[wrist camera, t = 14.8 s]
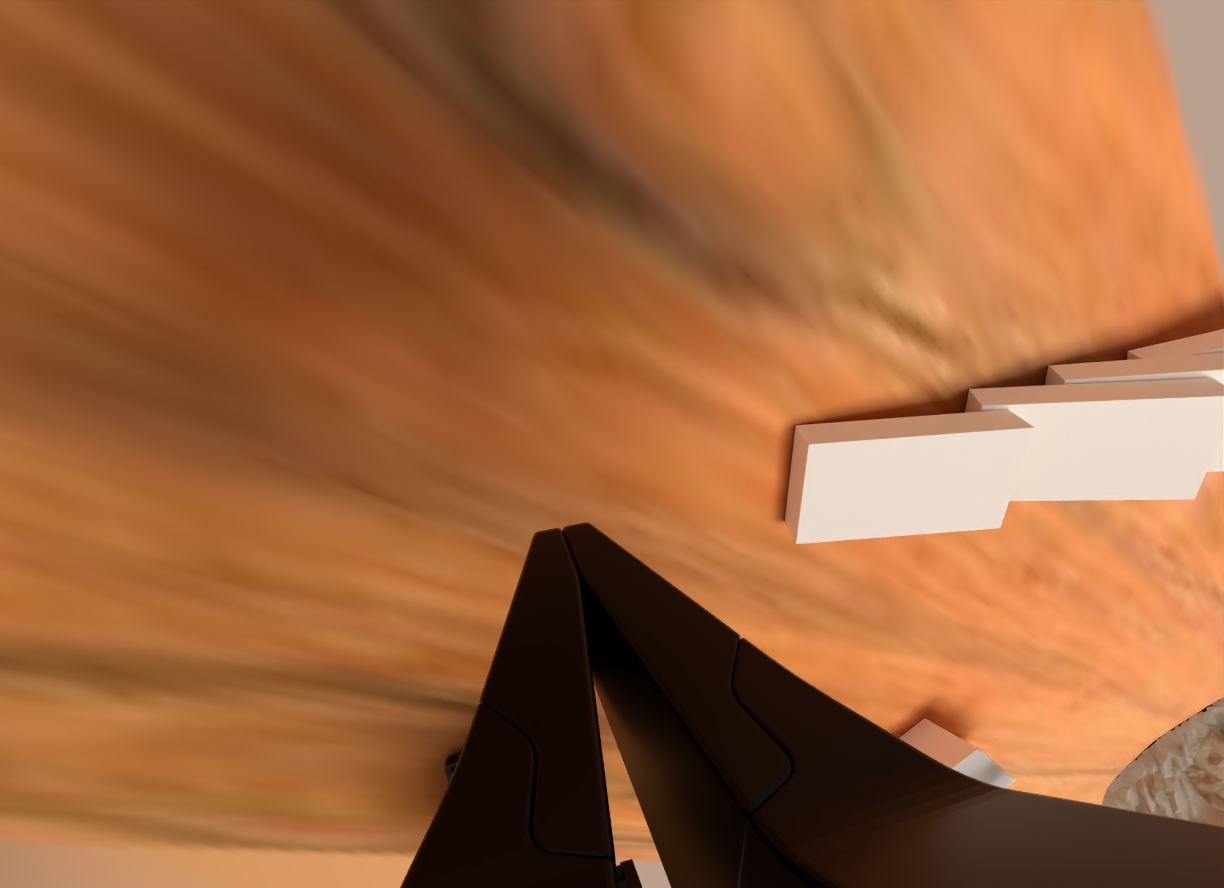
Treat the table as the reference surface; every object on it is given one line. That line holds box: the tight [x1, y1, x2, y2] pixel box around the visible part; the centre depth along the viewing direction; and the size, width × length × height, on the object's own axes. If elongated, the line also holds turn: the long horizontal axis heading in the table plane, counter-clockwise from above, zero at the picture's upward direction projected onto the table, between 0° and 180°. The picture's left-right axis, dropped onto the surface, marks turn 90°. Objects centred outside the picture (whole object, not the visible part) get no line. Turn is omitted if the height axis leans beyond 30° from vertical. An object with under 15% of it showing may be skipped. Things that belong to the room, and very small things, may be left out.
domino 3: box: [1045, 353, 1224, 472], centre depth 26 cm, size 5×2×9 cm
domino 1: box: [785, 410, 1035, 544], centre depth 25 cm, size 5×2×9 cm
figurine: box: [899, 718, 1015, 788], centre depth 34 cm, size 7×9×15 cm
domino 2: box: [965, 378, 1224, 501], centre depth 26 cm, size 5×2×9 cm
